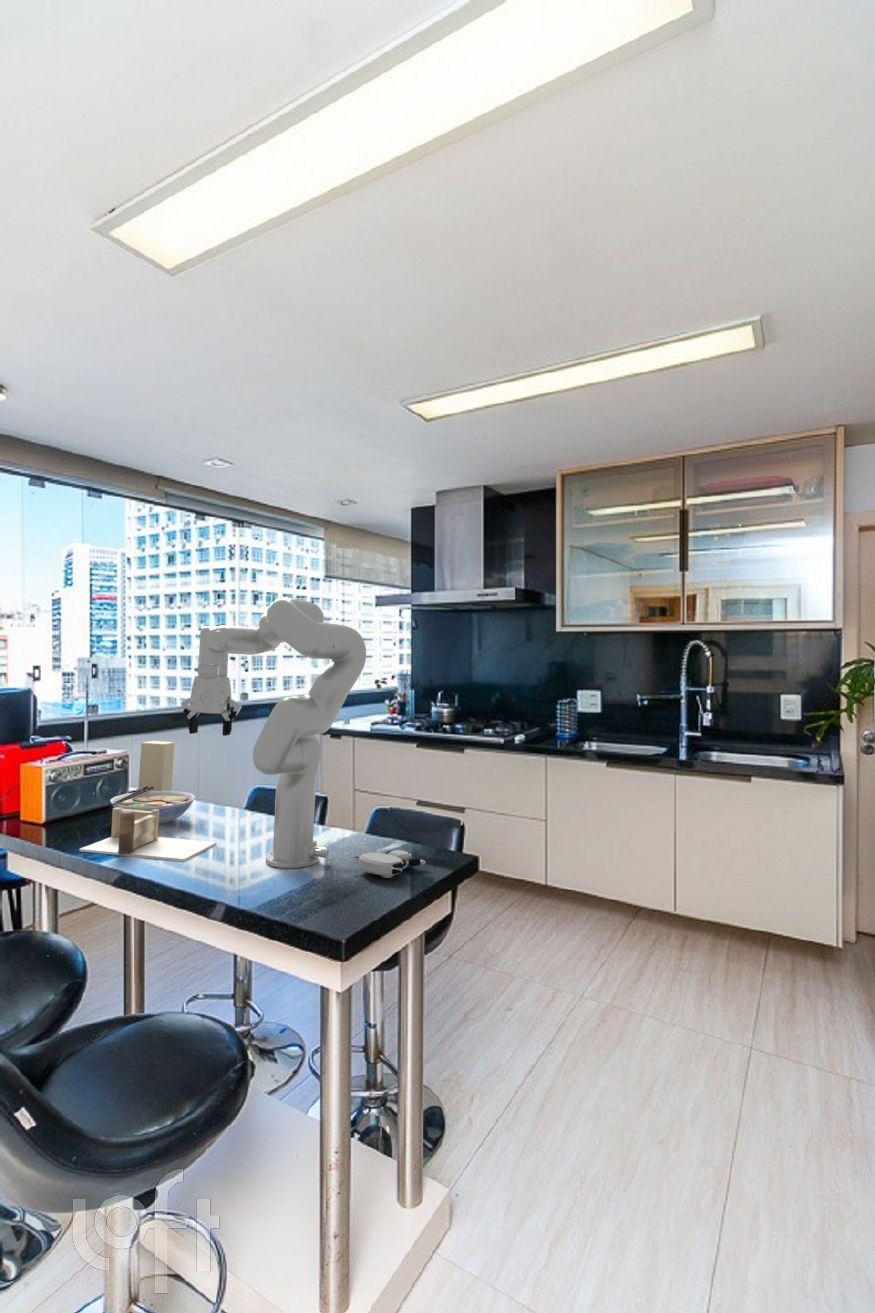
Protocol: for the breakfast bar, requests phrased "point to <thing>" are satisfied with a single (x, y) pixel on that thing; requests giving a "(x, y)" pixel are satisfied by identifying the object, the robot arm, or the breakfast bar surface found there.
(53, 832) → the breakfast bar surface
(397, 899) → the breakfast bar surface
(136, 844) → the hinged fence panel
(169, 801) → the ramen bowl
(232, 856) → the breakfast bar surface
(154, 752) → the beige tall block
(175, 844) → the layout board with fixed fence
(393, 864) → the robot toy
